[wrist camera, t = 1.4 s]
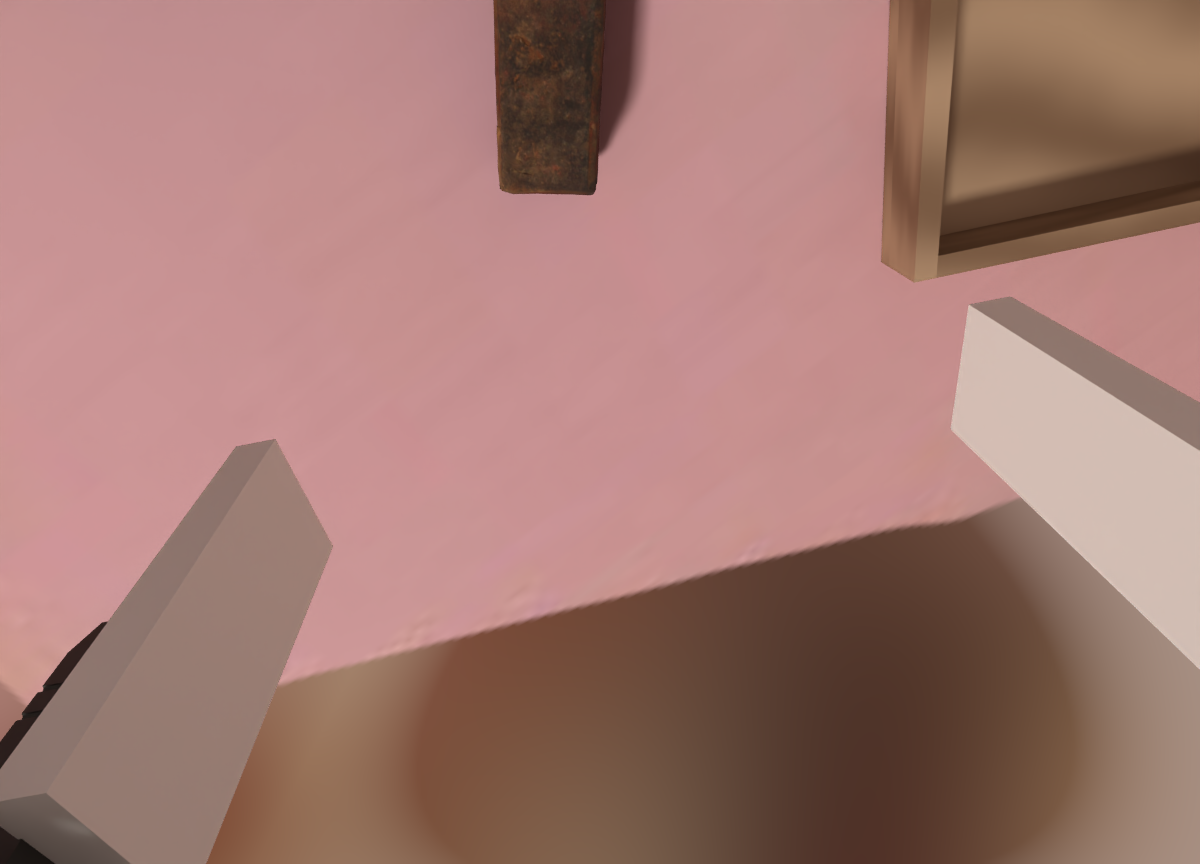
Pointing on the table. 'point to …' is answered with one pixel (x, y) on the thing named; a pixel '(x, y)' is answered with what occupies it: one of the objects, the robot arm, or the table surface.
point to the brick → (548, 94)
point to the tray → (1036, 128)
